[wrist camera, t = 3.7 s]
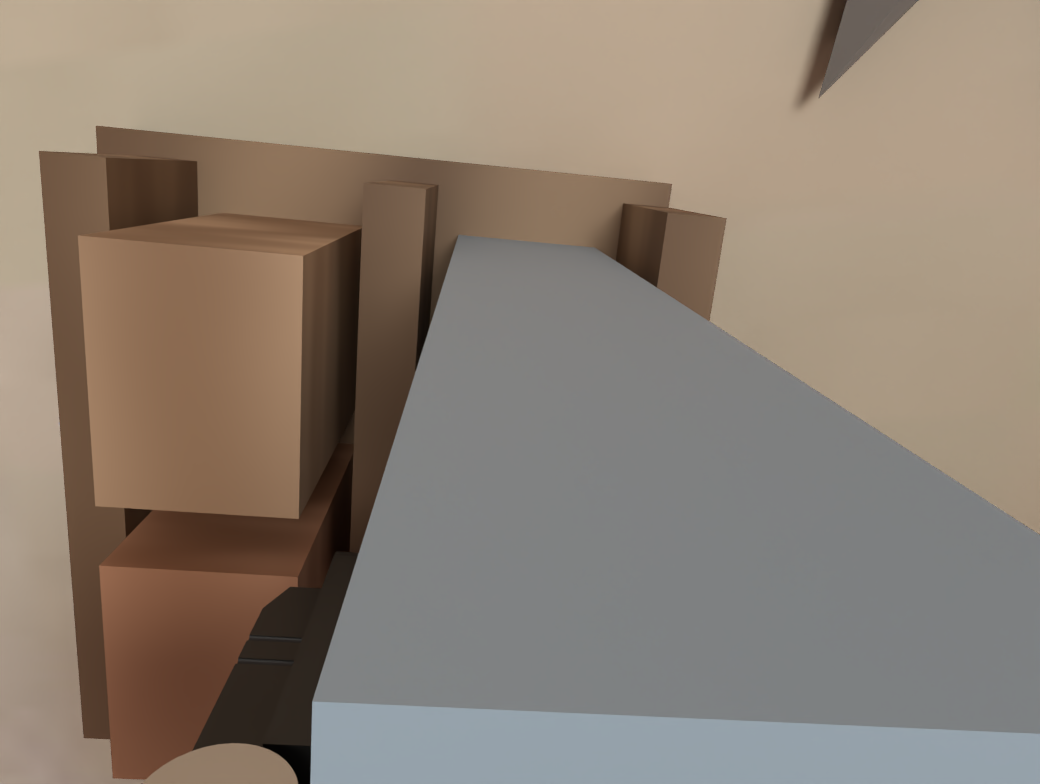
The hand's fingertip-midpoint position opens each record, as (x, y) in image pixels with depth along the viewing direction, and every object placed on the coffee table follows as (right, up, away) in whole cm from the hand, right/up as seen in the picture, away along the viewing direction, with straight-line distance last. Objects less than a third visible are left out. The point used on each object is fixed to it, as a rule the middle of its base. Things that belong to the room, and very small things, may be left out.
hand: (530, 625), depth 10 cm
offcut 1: (-5, +5, +6) cm, 10 cm away
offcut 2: (-6, 0, +8) cm, 10 cm away
